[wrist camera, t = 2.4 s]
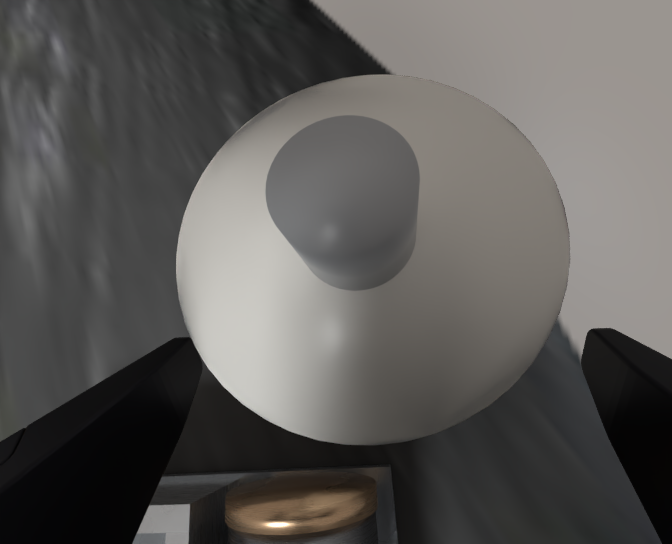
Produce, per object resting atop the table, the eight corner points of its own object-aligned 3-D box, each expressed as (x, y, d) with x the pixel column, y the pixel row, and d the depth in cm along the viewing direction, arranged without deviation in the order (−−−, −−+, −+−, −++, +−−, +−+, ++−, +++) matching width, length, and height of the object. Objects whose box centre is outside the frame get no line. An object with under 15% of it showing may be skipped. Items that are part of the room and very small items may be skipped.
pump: (468, 402, 16) (729, 451, 3) (328, 412, 17) (73, 480, 4) (446, 268, 18) (555, -61, 5) (321, 282, 19) (127, 33, 6)
